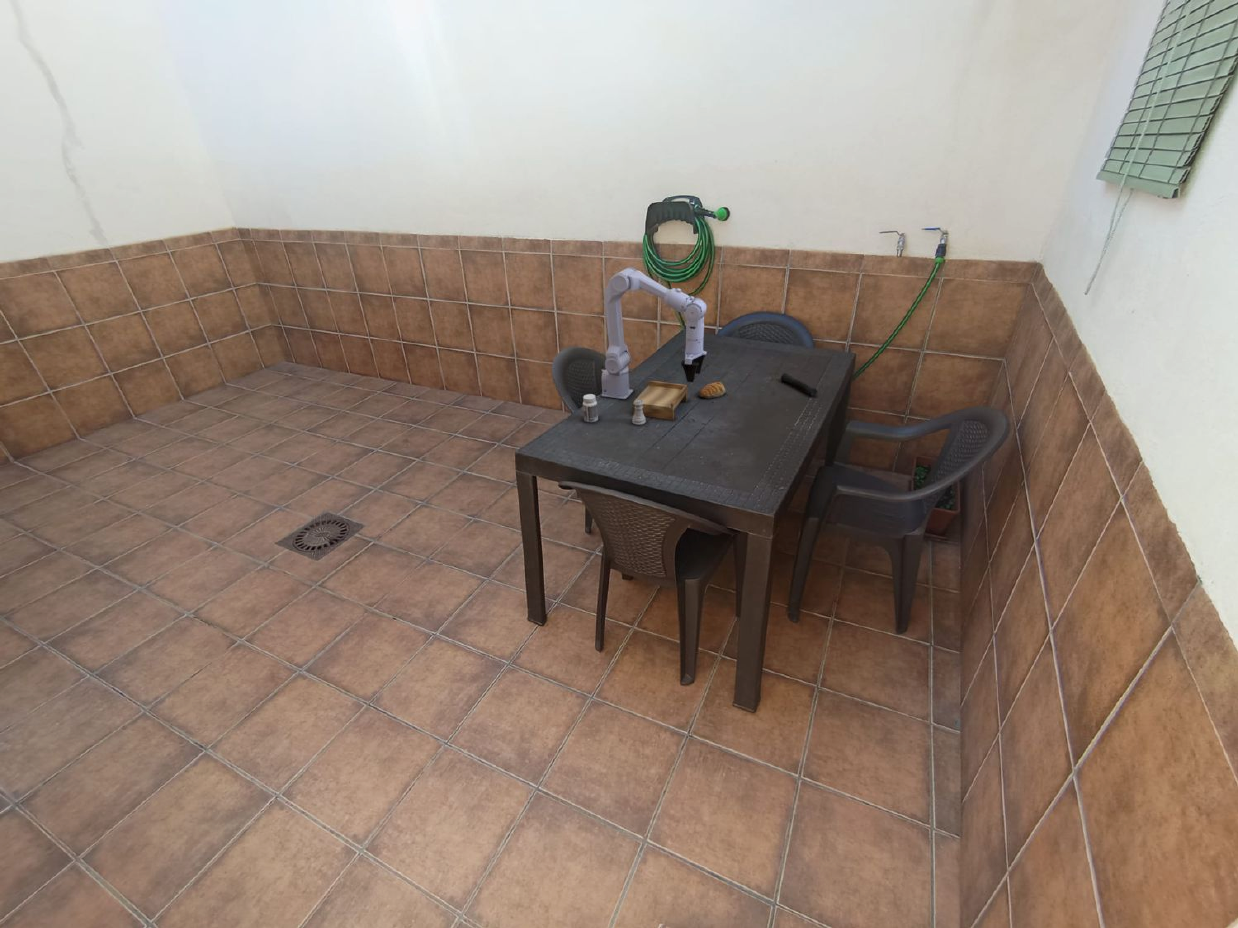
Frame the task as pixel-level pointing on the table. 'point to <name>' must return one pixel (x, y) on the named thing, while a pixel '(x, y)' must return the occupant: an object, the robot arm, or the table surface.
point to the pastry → (712, 390)
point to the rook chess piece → (638, 413)
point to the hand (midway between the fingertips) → (693, 377)
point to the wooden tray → (662, 399)
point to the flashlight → (798, 384)
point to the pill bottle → (590, 408)
